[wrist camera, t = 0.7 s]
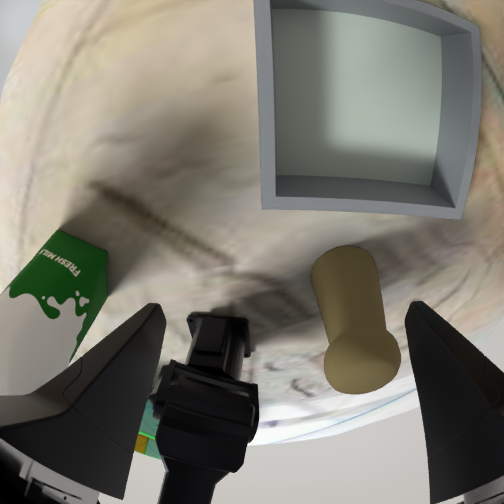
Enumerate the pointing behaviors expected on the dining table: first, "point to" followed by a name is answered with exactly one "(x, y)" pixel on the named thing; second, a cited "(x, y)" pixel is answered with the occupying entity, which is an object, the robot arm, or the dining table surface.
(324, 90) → the box
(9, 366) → the milk carton
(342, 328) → the cork
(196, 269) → the dining table surface
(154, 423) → the bowl
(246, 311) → the dining table surface
